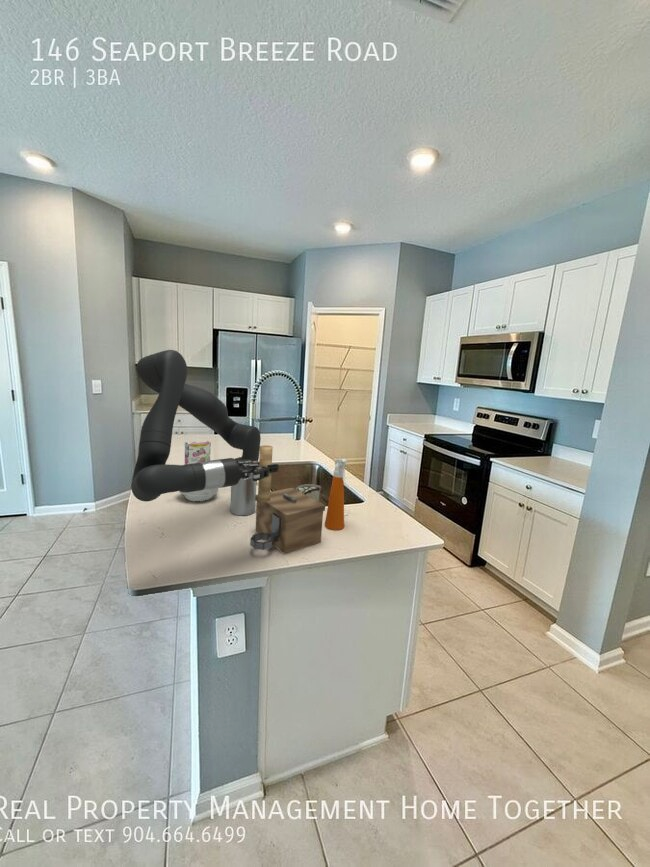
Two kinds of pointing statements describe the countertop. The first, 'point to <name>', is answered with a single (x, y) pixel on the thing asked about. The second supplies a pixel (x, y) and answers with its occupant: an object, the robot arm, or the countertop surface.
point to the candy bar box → (197, 452)
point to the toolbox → (291, 519)
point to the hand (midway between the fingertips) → (273, 465)
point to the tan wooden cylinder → (265, 483)
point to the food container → (310, 490)
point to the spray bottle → (336, 498)
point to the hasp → (267, 535)
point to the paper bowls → (200, 495)
